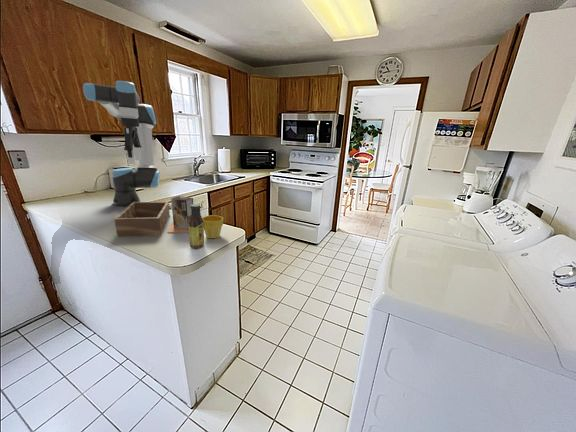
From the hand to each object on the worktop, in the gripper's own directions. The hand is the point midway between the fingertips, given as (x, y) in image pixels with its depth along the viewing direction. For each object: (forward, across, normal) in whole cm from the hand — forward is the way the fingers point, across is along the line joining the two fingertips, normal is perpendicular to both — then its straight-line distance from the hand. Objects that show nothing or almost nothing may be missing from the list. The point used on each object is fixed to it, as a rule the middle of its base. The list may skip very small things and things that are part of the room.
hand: (135, 162), depth 122 cm
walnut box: (+32, +7, +3) cm, 33 cm away
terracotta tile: (+32, +13, +22) cm, 41 cm away
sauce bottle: (+32, +37, +29) cm, 57 cm away
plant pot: (+32, +27, +36) cm, 55 cm away
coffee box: (+32, +13, +22) cm, 41 cm away
